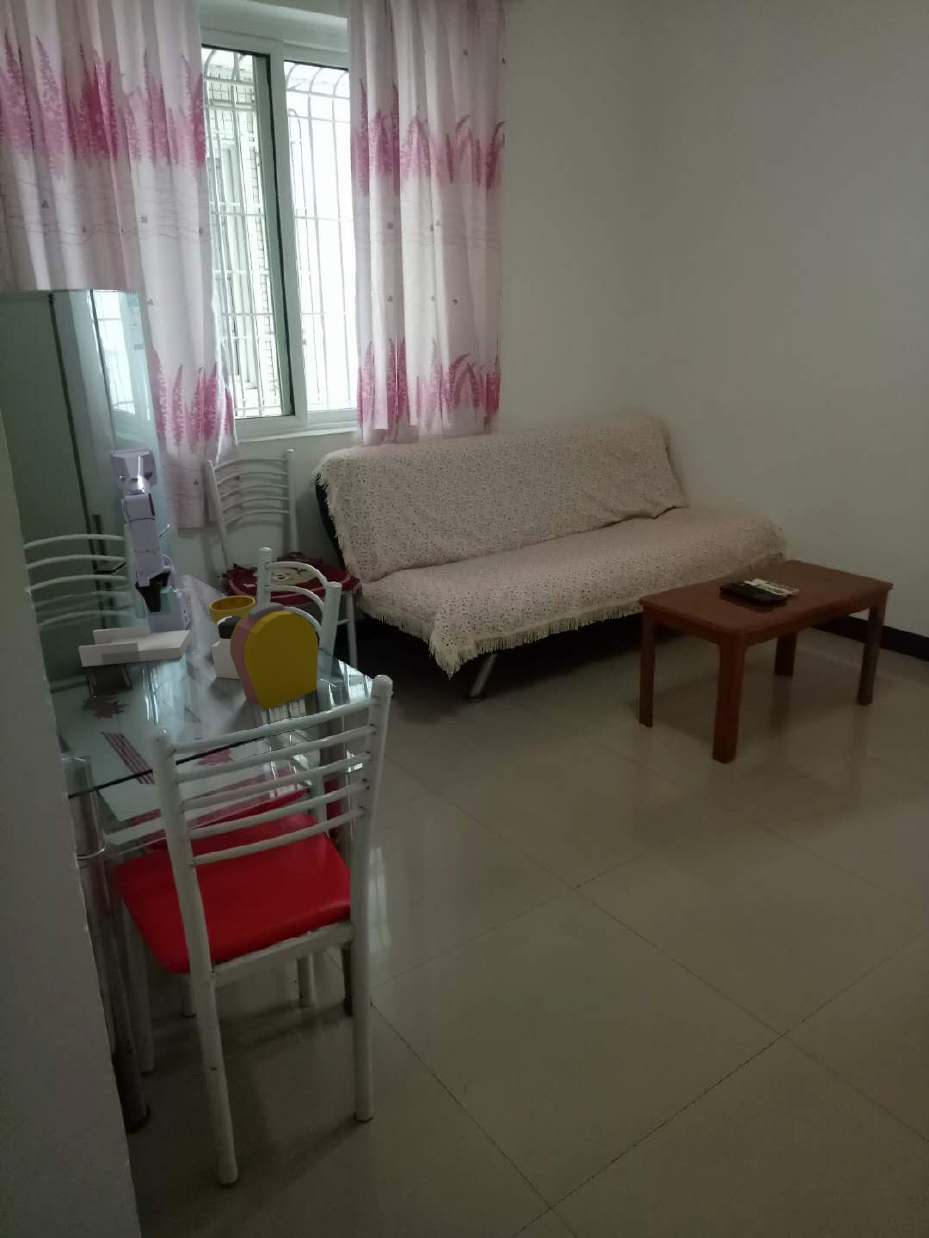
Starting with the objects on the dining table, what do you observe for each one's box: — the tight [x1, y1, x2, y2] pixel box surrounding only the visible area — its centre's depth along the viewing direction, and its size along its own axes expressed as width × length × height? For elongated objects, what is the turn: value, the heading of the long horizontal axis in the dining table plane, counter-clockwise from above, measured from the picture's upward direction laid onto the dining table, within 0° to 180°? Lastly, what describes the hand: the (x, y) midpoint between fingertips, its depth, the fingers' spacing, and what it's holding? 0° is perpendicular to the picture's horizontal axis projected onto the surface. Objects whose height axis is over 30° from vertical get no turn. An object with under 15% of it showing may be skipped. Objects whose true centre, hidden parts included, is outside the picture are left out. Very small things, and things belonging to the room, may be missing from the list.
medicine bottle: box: [210, 616, 243, 680], centre depth 176 cm, size 7×7×12 cm
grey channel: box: [78, 624, 193, 668], centre depth 192 cm, size 22×11×4 cm, turn 95°
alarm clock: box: [230, 601, 319, 711], centre depth 164 cm, size 15×8×18 cm, turn 133°
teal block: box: [146, 586, 176, 616], centre depth 189 cm, size 5×5×5 cm
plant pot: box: [208, 595, 257, 628], centre depth 193 cm, size 10×10×10 cm
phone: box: [86, 663, 133, 698], centre depth 178 cm, size 8×1×15 cm
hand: (158, 607), depth 189 cm, fingers closed on teal block, 5 cm apart
